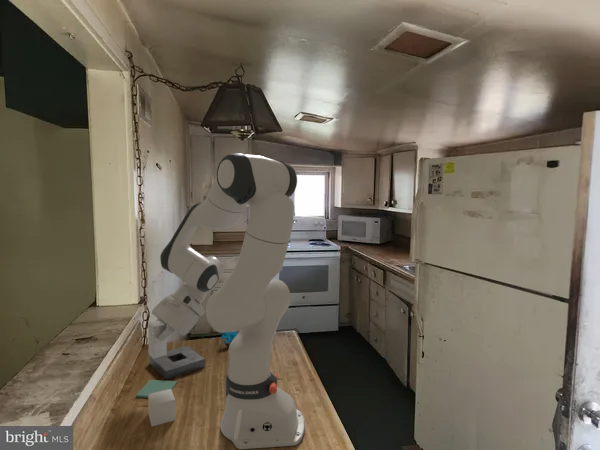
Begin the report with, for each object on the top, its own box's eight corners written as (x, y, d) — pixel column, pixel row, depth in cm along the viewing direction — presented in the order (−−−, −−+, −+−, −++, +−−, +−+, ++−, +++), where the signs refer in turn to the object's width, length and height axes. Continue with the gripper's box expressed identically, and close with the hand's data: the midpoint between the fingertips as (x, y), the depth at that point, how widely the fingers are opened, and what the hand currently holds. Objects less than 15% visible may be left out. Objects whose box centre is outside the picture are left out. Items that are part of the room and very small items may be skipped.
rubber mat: (177, 383, 116) (177, 381, 115) (165, 398, 107) (165, 397, 106) (149, 381, 116) (149, 379, 116) (136, 397, 107) (136, 395, 107)
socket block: (186, 353, 137) (186, 345, 137) (204, 366, 127) (204, 358, 127) (149, 364, 127) (149, 356, 127) (166, 379, 117) (166, 371, 117)
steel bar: (161, 350, 113) (161, 320, 112) (166, 355, 110) (166, 323, 109) (148, 354, 110) (148, 322, 109) (153, 358, 108) (153, 326, 107)
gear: (227, 347, 140) (219, 324, 145) (219, 354, 143) (211, 331, 148) (248, 343, 148) (240, 321, 153) (241, 350, 151) (233, 328, 156)
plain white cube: (151, 427, 94) (151, 405, 93) (148, 414, 99) (148, 393, 99) (175, 420, 97) (175, 399, 96) (170, 408, 102) (171, 388, 102)
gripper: (166, 287, 121) (136, 321, 115) (194, 302, 106) (162, 342, 100) (178, 297, 124) (149, 331, 119) (208, 314, 110) (177, 353, 104)
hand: (155, 336), depth 109 cm, fingers closed on steel bar, 4 cm apart
